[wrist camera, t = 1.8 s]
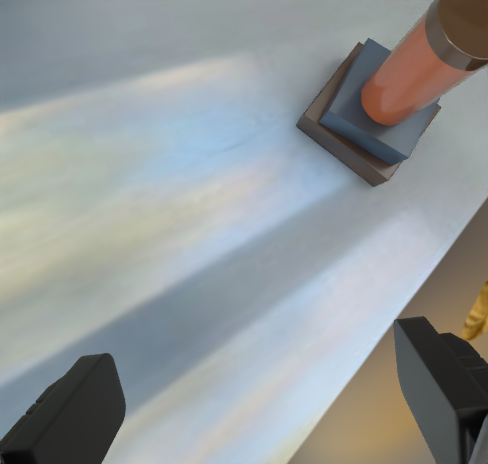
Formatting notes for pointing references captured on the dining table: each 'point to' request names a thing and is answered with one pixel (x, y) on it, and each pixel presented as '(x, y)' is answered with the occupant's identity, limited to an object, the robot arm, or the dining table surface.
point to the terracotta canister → (428, 61)
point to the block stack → (361, 120)
